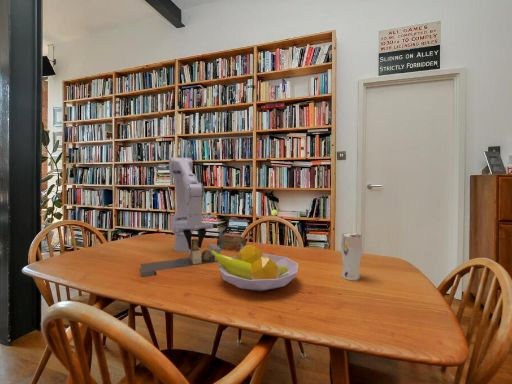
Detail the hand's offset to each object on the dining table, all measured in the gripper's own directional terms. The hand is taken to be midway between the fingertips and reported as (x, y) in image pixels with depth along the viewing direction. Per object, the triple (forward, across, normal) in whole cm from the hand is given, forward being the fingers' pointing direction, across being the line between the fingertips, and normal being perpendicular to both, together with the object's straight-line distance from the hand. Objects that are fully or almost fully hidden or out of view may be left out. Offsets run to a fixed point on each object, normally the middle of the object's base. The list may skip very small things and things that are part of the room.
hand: (194, 248), depth 106 cm
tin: (+7, +19, +9) cm, 22 cm away
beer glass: (+7, +46, -37) cm, 60 cm away
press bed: (+7, -5, 0) cm, 8 cm away
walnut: (+5, +5, 0) cm, 7 cm away
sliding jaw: (+5, 0, 0) cm, 5 cm away
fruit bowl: (+7, +14, -26) cm, 30 cm away
